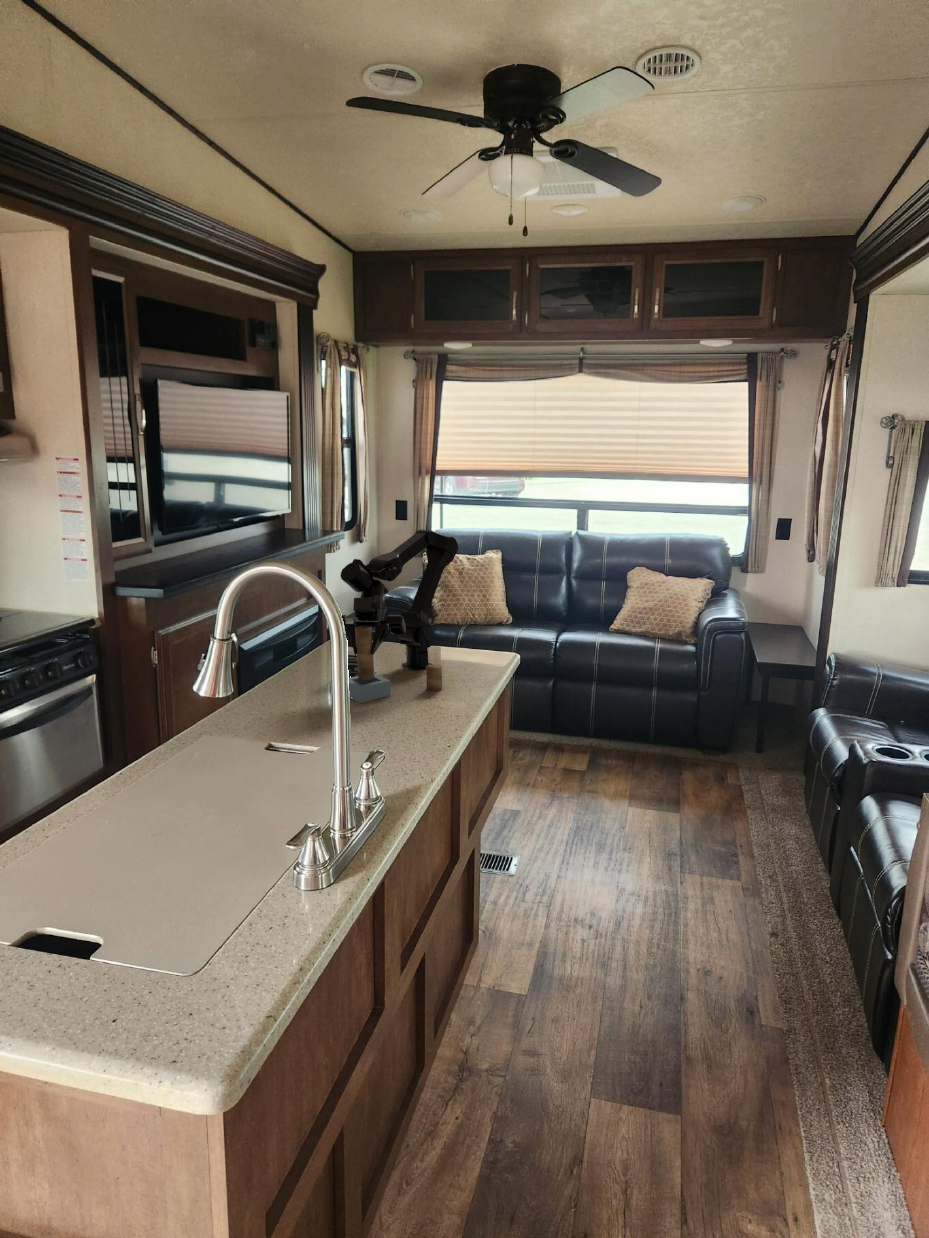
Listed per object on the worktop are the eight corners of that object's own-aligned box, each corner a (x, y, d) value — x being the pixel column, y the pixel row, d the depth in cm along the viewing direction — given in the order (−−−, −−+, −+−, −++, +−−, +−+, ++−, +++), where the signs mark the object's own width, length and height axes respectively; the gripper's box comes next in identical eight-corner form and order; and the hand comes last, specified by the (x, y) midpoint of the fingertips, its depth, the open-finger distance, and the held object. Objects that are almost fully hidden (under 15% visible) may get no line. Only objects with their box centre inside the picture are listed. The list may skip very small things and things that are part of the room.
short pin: (423, 688, 215) (423, 666, 213) (436, 685, 217) (435, 663, 216) (432, 692, 212) (431, 669, 210) (445, 689, 214) (444, 667, 213)
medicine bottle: (342, 678, 225) (339, 635, 222) (352, 670, 232) (350, 629, 229) (366, 680, 223) (364, 636, 220) (376, 672, 230) (374, 630, 227)
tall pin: (355, 677, 210) (352, 627, 207) (369, 674, 212) (366, 624, 209) (363, 681, 207) (360, 630, 204) (377, 677, 209) (374, 627, 206)
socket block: (343, 694, 212) (342, 679, 211) (373, 687, 217) (372, 672, 216) (360, 703, 205) (359, 687, 204) (390, 695, 210) (390, 680, 209)
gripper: (328, 583, 209) (319, 637, 201) (401, 583, 207) (395, 638, 199) (338, 607, 218) (329, 659, 210) (408, 607, 216) (402, 660, 208)
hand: (363, 654), depth 207 cm, fingers closed on tall pin, 4 cm apart
